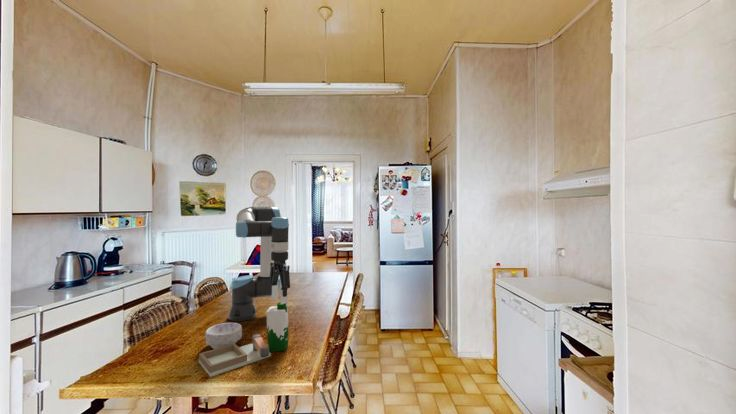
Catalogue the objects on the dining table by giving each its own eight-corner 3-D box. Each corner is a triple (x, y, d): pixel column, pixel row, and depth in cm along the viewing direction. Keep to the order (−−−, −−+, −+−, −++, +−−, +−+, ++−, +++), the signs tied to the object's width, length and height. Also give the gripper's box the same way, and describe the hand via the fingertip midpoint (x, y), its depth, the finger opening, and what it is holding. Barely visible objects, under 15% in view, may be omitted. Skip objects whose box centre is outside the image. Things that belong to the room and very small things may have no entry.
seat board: (198, 362, 125) (198, 352, 125) (255, 344, 141) (256, 336, 141) (210, 376, 114) (210, 366, 114) (270, 356, 131) (270, 347, 131)
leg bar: (251, 342, 134) (251, 335, 134) (259, 340, 136) (259, 333, 136) (261, 358, 120) (261, 350, 120) (270, 356, 122) (270, 348, 122)
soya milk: (287, 351, 134) (285, 306, 134) (266, 353, 133) (264, 307, 133) (290, 342, 143) (288, 300, 143) (270, 344, 142) (268, 301, 142)
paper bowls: (205, 355, 130) (205, 337, 130) (205, 342, 144) (205, 325, 144) (243, 348, 137) (243, 331, 137) (240, 336, 151) (240, 320, 151)
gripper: (261, 249, 143) (261, 298, 143) (283, 254, 129) (282, 308, 128) (276, 248, 149) (276, 295, 148) (298, 252, 134) (298, 304, 133)
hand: (279, 301), depth 138 cm, fingers open, 8 cm apart
